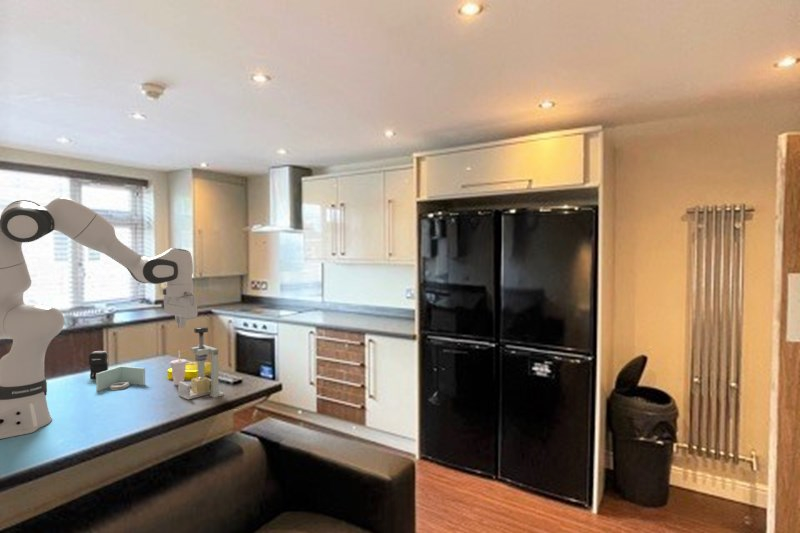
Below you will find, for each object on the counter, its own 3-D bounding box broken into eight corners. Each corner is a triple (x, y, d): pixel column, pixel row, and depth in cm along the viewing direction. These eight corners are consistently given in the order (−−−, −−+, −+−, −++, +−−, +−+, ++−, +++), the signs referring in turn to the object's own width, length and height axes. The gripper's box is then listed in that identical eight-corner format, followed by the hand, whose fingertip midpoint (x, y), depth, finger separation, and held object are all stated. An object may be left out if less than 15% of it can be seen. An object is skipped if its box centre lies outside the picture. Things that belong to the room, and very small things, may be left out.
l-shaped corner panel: (96, 392, 178) (96, 373, 177) (121, 383, 189) (121, 365, 189) (121, 394, 175) (120, 375, 175) (145, 385, 187) (145, 367, 186)
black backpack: (87, 379, 193) (87, 353, 192) (92, 376, 197) (91, 351, 196) (105, 378, 194) (104, 352, 194) (109, 376, 198) (108, 350, 197)
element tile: (165, 380, 194) (165, 369, 193) (183, 370, 209) (182, 360, 208) (199, 381, 193) (199, 370, 193) (214, 371, 208) (214, 361, 208)
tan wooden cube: (209, 389, 176) (209, 377, 176) (197, 392, 172) (197, 379, 172) (203, 387, 179) (203, 374, 179) (191, 390, 175) (191, 377, 175)
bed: (187, 399, 168) (187, 386, 168) (178, 395, 173) (178, 382, 172) (216, 392, 177) (216, 379, 176) (207, 388, 181) (207, 375, 181)
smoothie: (190, 381, 190) (189, 349, 190) (181, 386, 184) (181, 352, 183) (176, 381, 191) (175, 348, 190) (166, 385, 185) (166, 352, 184)
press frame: (206, 399, 168) (206, 352, 168) (185, 390, 179) (184, 345, 179) (223, 395, 174) (223, 349, 173) (202, 386, 185) (201, 343, 184)
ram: (198, 361, 172) (197, 329, 171) (192, 359, 175) (191, 328, 174) (210, 359, 176) (210, 328, 175) (204, 357, 179) (204, 326, 178)
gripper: (201, 292, 164) (202, 329, 164) (177, 288, 177) (177, 323, 177) (184, 294, 159) (185, 332, 160) (160, 290, 172) (160, 325, 173)
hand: (180, 327), depth 169 cm, fingers closed
